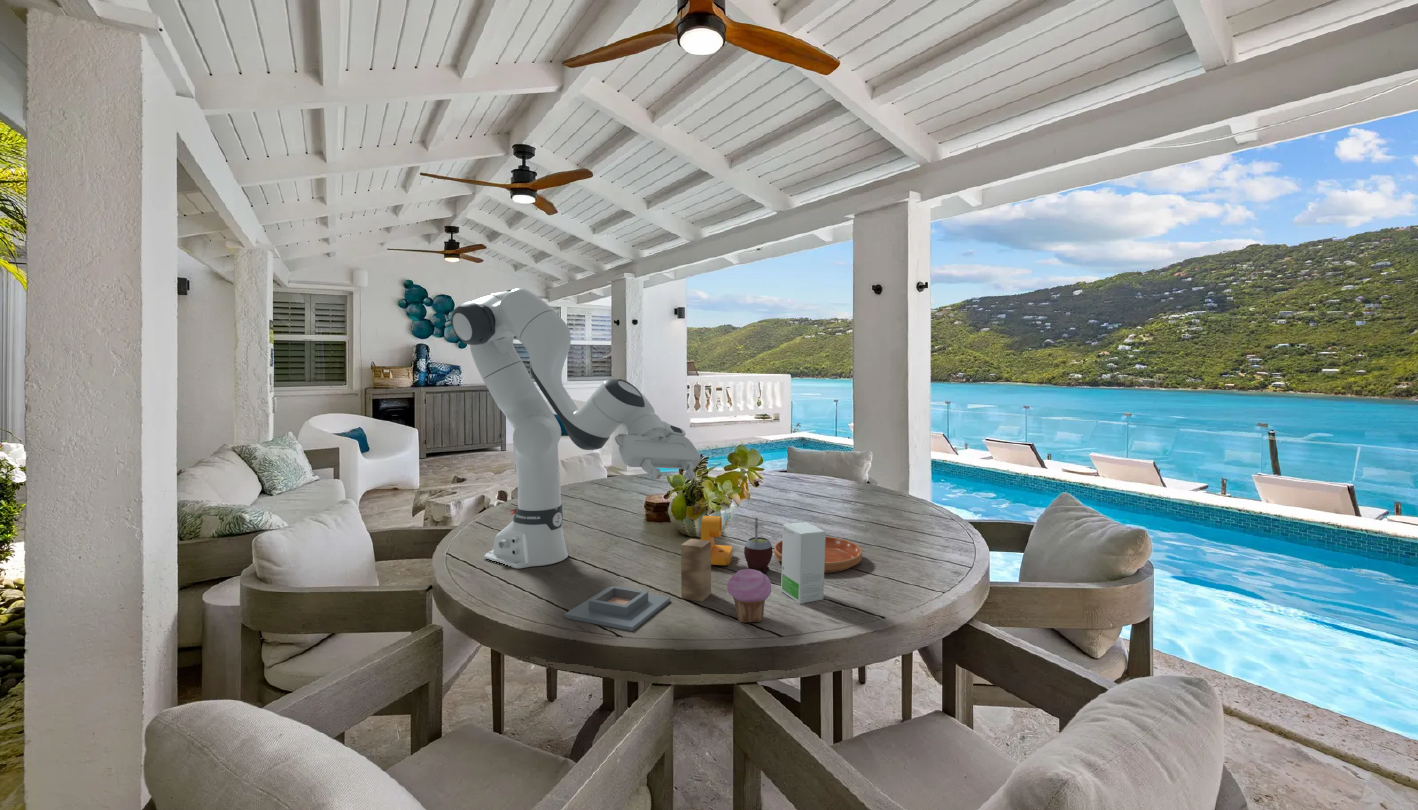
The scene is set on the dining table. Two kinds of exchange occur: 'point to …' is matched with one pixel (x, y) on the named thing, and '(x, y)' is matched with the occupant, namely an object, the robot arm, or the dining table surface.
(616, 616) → the housing
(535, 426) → the robot arm
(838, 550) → the saucer
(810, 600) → the skincare box
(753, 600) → the cupcake
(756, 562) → the mate gourd
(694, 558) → the block
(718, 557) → the bracket
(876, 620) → the dining table surface
